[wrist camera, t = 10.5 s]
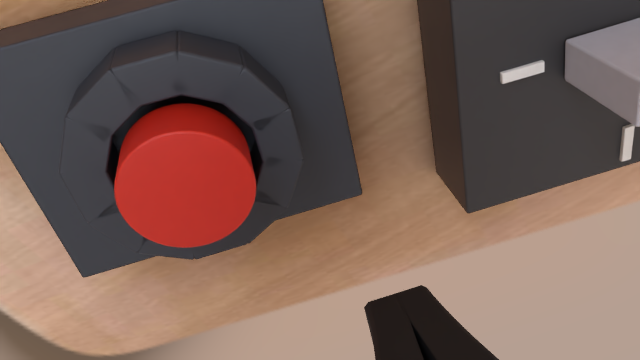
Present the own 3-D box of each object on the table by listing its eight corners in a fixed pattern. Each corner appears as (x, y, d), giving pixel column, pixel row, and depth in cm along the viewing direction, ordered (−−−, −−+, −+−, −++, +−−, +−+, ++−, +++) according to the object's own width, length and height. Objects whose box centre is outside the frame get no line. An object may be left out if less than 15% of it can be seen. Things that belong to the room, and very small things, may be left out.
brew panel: (435, 172, 23) (469, 217, 20) (405, -96, 17) (446, -82, 15) (709, 90, 23) (776, 123, 21) (764, -193, 18) (864, -196, 15)
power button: (148, 226, 17) (145, 264, 16) (98, 123, 15) (88, 155, 14) (263, 192, 17) (271, 226, 16) (229, 86, 15) (234, 113, 14)
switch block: (91, 239, 21) (74, 317, 18) (-26, 36, 17) (-77, 87, 13) (347, 164, 22) (378, 225, 18) (300, -53, 17) (329, -24, 14)
